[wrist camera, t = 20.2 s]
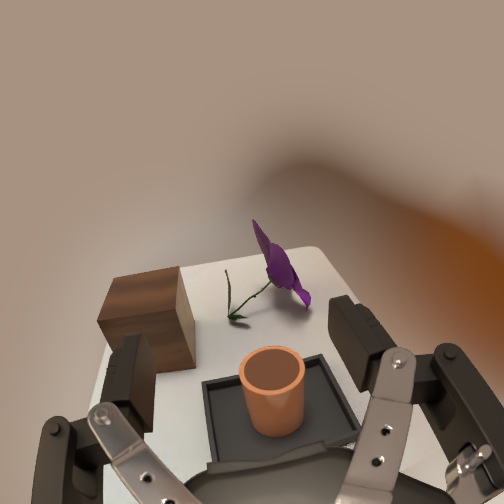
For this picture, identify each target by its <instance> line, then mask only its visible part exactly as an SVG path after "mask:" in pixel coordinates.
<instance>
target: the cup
mask: <svg viewBox="0 0 504 504" xmlns="http://www.w3.org/2000/svg"><path fill="white" fill-rule="evenodd" d="M239 377H240V381H241V385H242V389H243V393H244V397H245V401H246V405H247V409H248V413H249V416H250V420H251V423H252V425H253V427H254V428H255V429H256V430H257V431H258V432H259V433H261V434H263V435H265V436H269V437H283V436H286V435H289V434H291V433H293V432H294V431H296V430H297V429H298V428H299V427H300V426H301V424H302V422H303V420H304V413H305V364H304V361H303V359H302V358H301V357H300V355H299V354H297V353H296V352H295V351H293V350H291V349H289V348H286V347H281V346H269V347H263V348H260V349H257V350H255V351H253V352H252V353H250V354H249V355H248V356H247V357H246V358H245V359H244V360H243V361H242V363H241V365H240V368H239Z"/></svg>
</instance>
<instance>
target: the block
mask: <svg viewBox="0 0 504 504" xmlns="http://www.w3.org/2000/svg"><path fill="white" fill-rule="evenodd" d="M97 322H98V324H99V326H100V328H101V330H102V332H103V334H104V336H105V338H106V340H107V342H108V344H109V346H110V348H111V349H112V351H113V352H114V350H115V349H116V347H122V345H123V340H124V337H125V335H126V334H134V333H143V334H144V336H145V338H146V340H147V343H148V345H149V347H150V349H151V352H152V354H153V356H154V359H155V362H156V373H161V372H169V371H177V370H184V369H191V368H196V354H195V321H194V318H193V314H192V311H191V307H190V304H189V300H188V297H187V293H186V290H185V286H184V283H183V279H182V275H181V272H180V268H179V266H176V267H171V268H166V269H160V270H155V271H149V272H144V273H138V274H133V275H128V276H122V277H117V278H114V279H113V282H112V284H111V286H110V289H109V291H108V293H107V296H106V298H105V301H104V304H103V306H102V308H101V311H100V314H99V316H98V319H97Z"/></svg>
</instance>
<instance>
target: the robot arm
mask: <svg viewBox="0 0 504 504" xmlns="http://www.w3.org/2000/svg"><path fill="white" fill-rule="evenodd" d="M328 331H329V335H330V338H331V340H332V342H333V344H334V346H335V347H336V349H337V351H338V353H339V355H340V357H341V358H342V360H343V362H344V364H345V366H346V368H347V370H348V372H349V373H350V375H351V377H352V379H353V381H354V383H355V385H356V387H357V388H358V390H359V392H360V393H361V392H364V391H367V390H369V392H370V394H371V397H370V400H369V403H368V407H367V410H366V413H365V416H364V420H363V423H362V426H361V429H360V432H359V435H358V437H357V440H356V443H355V446H354V448H353V450H352V449H349V448H345V447H339V446H326V445H325V443H324V440H321V441H317V442H314V443H310V444H306V445H302V446H299V447H295V448H293V449H291V450H289V451H287V452H285V453H283V454H280V455H278V456H276V457H274V458H272V459H269V460H240V459H233V460H226V461H219V462H210V463H207V470H205V471H203V472H201V473H198V474H196V475H195V476H193V477H192V478H190V479H189V480H188V481H186V482H185V483H184V484H183V483H182V482H181V481H180V480H179V479H178V478H177V477H176V476H175V475H174V474H173V473H172V472H171V471H170V470H169V469H168V468H167V467H166V466H165V464H164V463H163V462H162V461H161V460H160V459H159V458H158V457H157V456H156V454H155V453H154V452H153V451H152V450H151V449H150V448H149V446H148V445H147V444H146V443H145V442H144V433H149V432H153V415H154V397H155V382H156V362H155V359H154V356H153V354H152V352H151V349H150V347H149V345H148V343H147V340H146V338H145V336H144V334H143V333H134V334H126V335H125V337H124V340H123V345H122V347H116V349H115V350H114V352H113V353H112V354H111V356H110V359H109V363H108V368H107V371H106V376H105V380H104V385H103V389H102V394H101V399H100V403H99V404H97V405H95V406H94V407H93V408H92V409H91V410H90V411H89V413H88V416H87V417H86V418H83V419H80V420H77V421H74V422H68V420H67V419H66V418H64V417H62V416H54V417H52V418H50V419H49V420H47V421H46V423H45V424H44V426H43V428H42V433H41V438H40V443H39V448H38V454H37V460H36V466H35V473H34V481H33V489H32V500H31V504H103V466H104V465H106V464H109V463H110V464H111V466H112V468H113V470H114V471H115V472H116V474H117V475H118V477H119V478H120V479H121V481H122V482H123V483H124V485H125V486H126V487H127V489H128V490H129V491H130V493H131V494H132V495H133V496H134V498H135V499H136V500H137V501H138V503H139V504H484V503H486V502H487V501H489V500H491V499H492V498H494V497H495V496H497V495H498V494H500V493H502V492H503V491H504V408H503V406H502V405H501V403H500V402H499V400H498V399H497V397H496V396H495V394H494V393H493V391H492V390H491V389H490V387H489V386H488V384H487V383H486V381H485V380H484V379H483V377H482V376H481V375H480V373H479V372H478V370H477V369H476V368H475V366H474V365H473V364H472V362H471V361H470V360H469V358H468V357H467V356H466V355H465V353H464V352H463V351H462V350H461V348H459V347H458V346H456V345H455V344H451V343H443V344H440V345H439V346H437V347H436V349H435V351H434V354H426V355H414V354H413V353H412V352H411V351H409V350H408V349H405V348H402V347H397V345H396V344H395V343H394V341H393V340H392V339H391V337H390V336H389V334H388V333H387V332H386V330H385V329H384V328H383V326H382V325H380V322H379V321H378V320H377V319H376V318H375V316H374V315H373V313H372V312H371V311H370V309H368V308H367V307H365V306H363V305H362V304H360V303H359V304H356V305H355V304H354V303H353V302H352V300H351V299H350V298H349V296H348V295H344V296H339V297H335V298H331V299H330V300H329V313H328ZM413 404H419V406H420V407H421V409H422V411H423V413H424V415H425V417H426V418H427V420H428V422H429V424H430V426H431V428H432V430H433V432H434V434H435V436H436V437H437V439H438V441H439V443H440V445H441V447H442V449H443V451H444V453H445V455H446V457H447V459H448V461H449V463H450V464H449V465H448V467H447V469H446V472H445V478H446V483H447V490H446V492H445V491H443V490H441V489H439V488H436V487H433V486H431V485H429V484H426V483H424V482H421V481H419V480H417V479H414V478H412V477H410V476H407V475H405V474H403V473H401V472H399V469H400V465H401V461H402V457H403V453H404V449H405V445H406V441H407V436H408V432H409V427H410V422H411V416H412V411H413Z"/></svg>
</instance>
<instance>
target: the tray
mask: <svg viewBox="0 0 504 504" xmlns="http://www.w3.org/2000/svg"><path fill="white" fill-rule="evenodd" d="M303 361H304V364H305V413H304V420H303V422H302V424H301V426H300V427H299V428H298V429H297V430H296V431H294V432H293V433H291V434H289V435H286V436H283V437H269V436H265V435H263V434H261V433H259V432H258V431H257V430H256V429H255V428H254V427H253V425H252V423H251V420H250V416H249V413H248V409H247V405H246V401H245V397H244V393H243V389H242V385H241V381H240V377H239V375H234V376H230V377H225V378H219V379H214V380H209V381H203V382H201V383H202V392H203V400H204V408H205V416H206V423H207V430H208V437H209V444H210V451H211V457H212V462H219V461H226V460H233V459H240V460H269V459H272V458H274V457H276V456H278V455H280V454H283V453H285V452H287V451H289V450H291V449H293V448H295V447H299V446H302V445H306V444H310V443H314V442H317V441H321V440H324V443H325V445H326V446H339V447H341V446H343V445H346V444H349V443H351V442H354V441H356V440H357V437H358V435H359V432H360V429H361V426H360V424H359V422H358V420H357V418H356V416H355V414H354V412H353V410H352V409H351V407H350V405H349V403H348V401H347V399H346V397H345V396H344V394H343V392H342V390H341V388H340V386H339V384H338V383H337V381H336V379H335V377H334V375H333V373H332V371H331V370H330V368H329V366H328V364H327V362H326V360H325V358H324V357H323V355H322V354H318V355H315V356H311V357H308V358H304V359H303Z"/></svg>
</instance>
